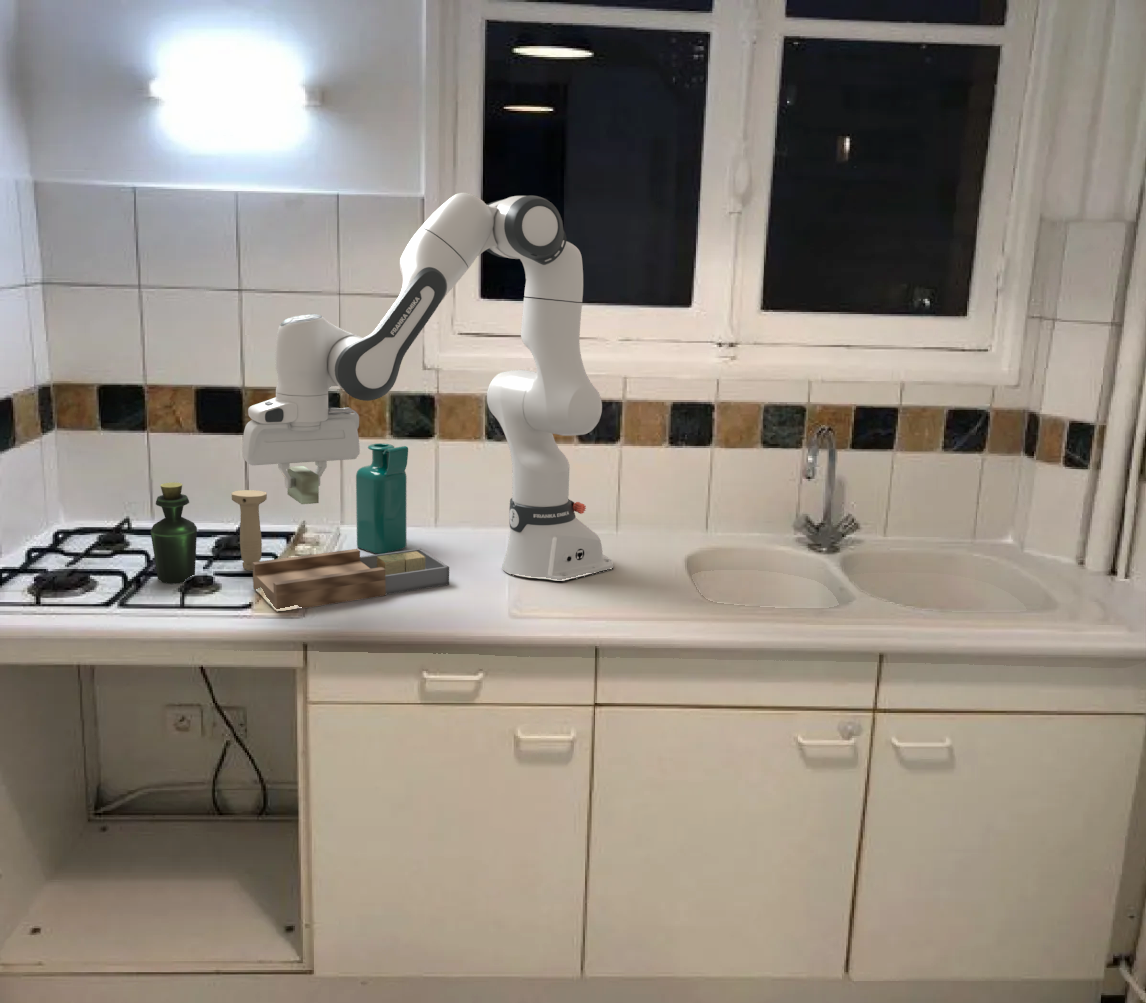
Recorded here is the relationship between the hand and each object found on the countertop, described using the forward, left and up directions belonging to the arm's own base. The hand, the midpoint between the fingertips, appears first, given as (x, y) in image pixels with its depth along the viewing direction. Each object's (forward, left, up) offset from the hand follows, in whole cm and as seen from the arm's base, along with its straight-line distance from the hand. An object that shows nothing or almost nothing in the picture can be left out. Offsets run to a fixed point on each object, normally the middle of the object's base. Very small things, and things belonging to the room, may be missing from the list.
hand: (302, 486), depth 192 cm
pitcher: (-24, -20, -20) cm, 37 cm away
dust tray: (-19, 0, -20) cm, 28 cm away
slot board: (-3, 0, -20) cm, 20 cm away
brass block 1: (-17, 0, -20) cm, 26 cm away
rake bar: (0, 0, -2) cm, 2 cm away
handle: (+4, -18, -20) cm, 28 cm away
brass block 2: (-19, 0, -18) cm, 26 cm away
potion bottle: (+18, -18, -20) cm, 33 cm away
